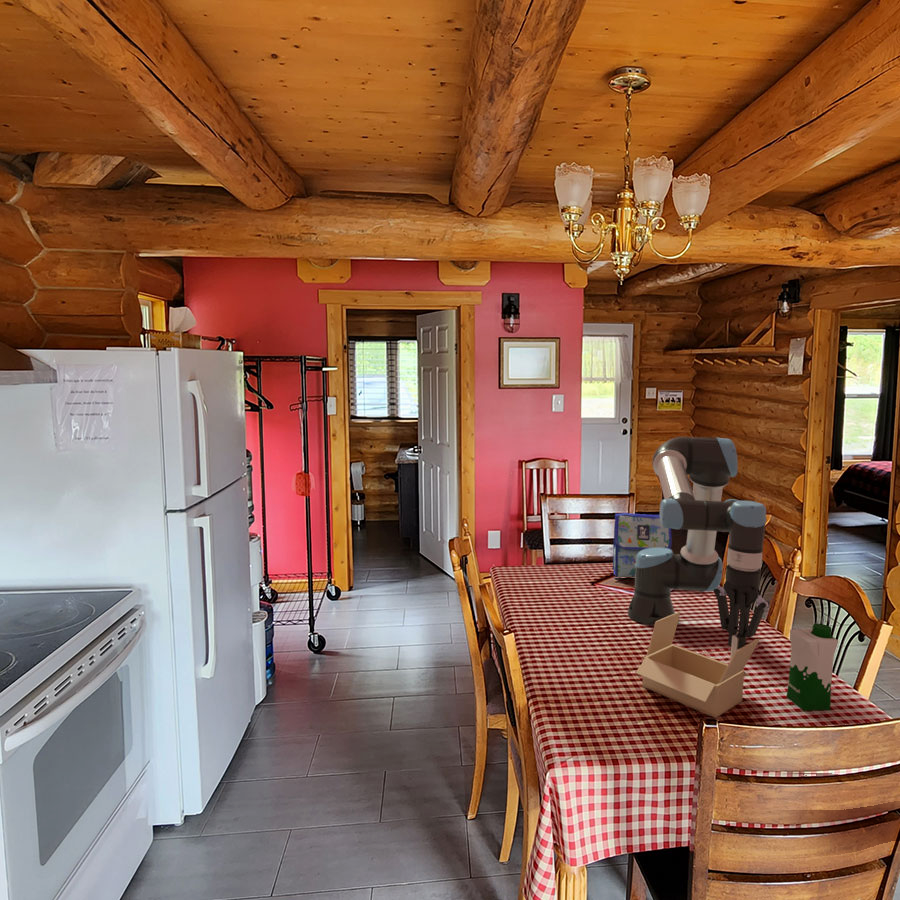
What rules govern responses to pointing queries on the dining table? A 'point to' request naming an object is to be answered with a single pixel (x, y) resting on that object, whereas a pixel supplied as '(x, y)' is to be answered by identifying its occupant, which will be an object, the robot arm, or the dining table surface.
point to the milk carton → (811, 667)
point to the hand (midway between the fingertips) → (735, 660)
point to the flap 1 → (663, 633)
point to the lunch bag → (636, 540)
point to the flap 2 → (739, 660)
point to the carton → (691, 680)
